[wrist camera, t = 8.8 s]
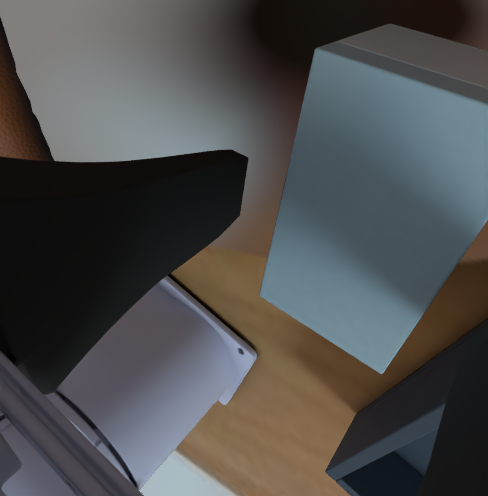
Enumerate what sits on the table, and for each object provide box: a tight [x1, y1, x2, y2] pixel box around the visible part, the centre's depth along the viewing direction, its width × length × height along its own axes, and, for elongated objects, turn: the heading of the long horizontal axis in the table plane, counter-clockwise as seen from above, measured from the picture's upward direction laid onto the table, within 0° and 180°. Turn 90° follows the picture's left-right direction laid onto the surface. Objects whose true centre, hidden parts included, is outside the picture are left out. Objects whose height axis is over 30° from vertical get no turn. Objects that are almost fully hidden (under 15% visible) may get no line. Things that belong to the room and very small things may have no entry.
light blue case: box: [259, 24, 488, 374], centre depth 12 cm, size 5×8×4 cm, turn 172°
